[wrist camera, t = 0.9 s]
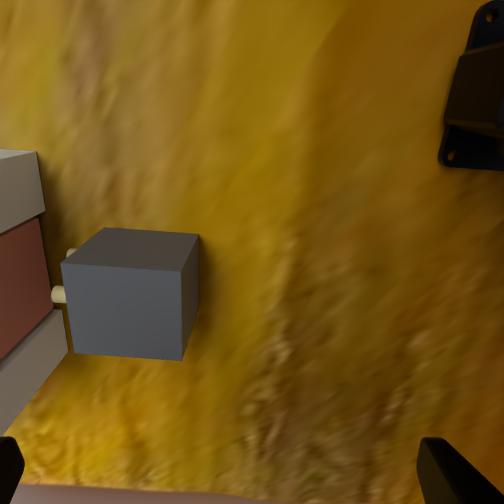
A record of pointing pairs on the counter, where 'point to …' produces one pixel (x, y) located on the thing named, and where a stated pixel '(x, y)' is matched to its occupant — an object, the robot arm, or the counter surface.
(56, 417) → the counter surface
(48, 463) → the counter surface
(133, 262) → the plug
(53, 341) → the light grey rectangular block
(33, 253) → the shutter
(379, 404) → the counter surface
